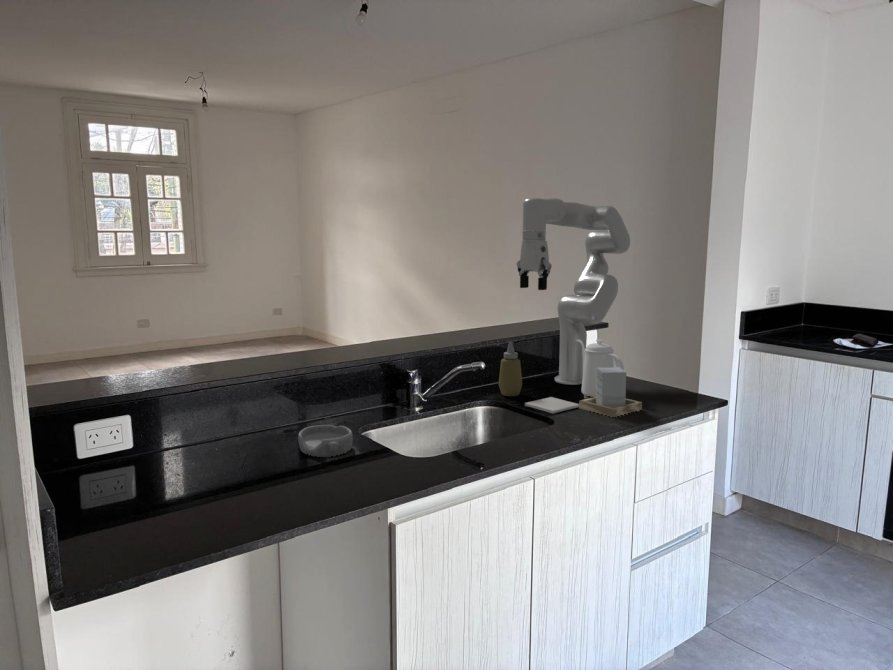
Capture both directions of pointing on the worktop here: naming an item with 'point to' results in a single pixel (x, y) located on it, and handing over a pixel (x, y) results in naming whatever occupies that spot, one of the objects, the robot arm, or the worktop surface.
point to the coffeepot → (596, 364)
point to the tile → (552, 405)
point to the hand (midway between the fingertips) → (533, 288)
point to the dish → (325, 440)
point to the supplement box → (611, 387)
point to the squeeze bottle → (510, 373)
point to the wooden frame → (612, 412)
